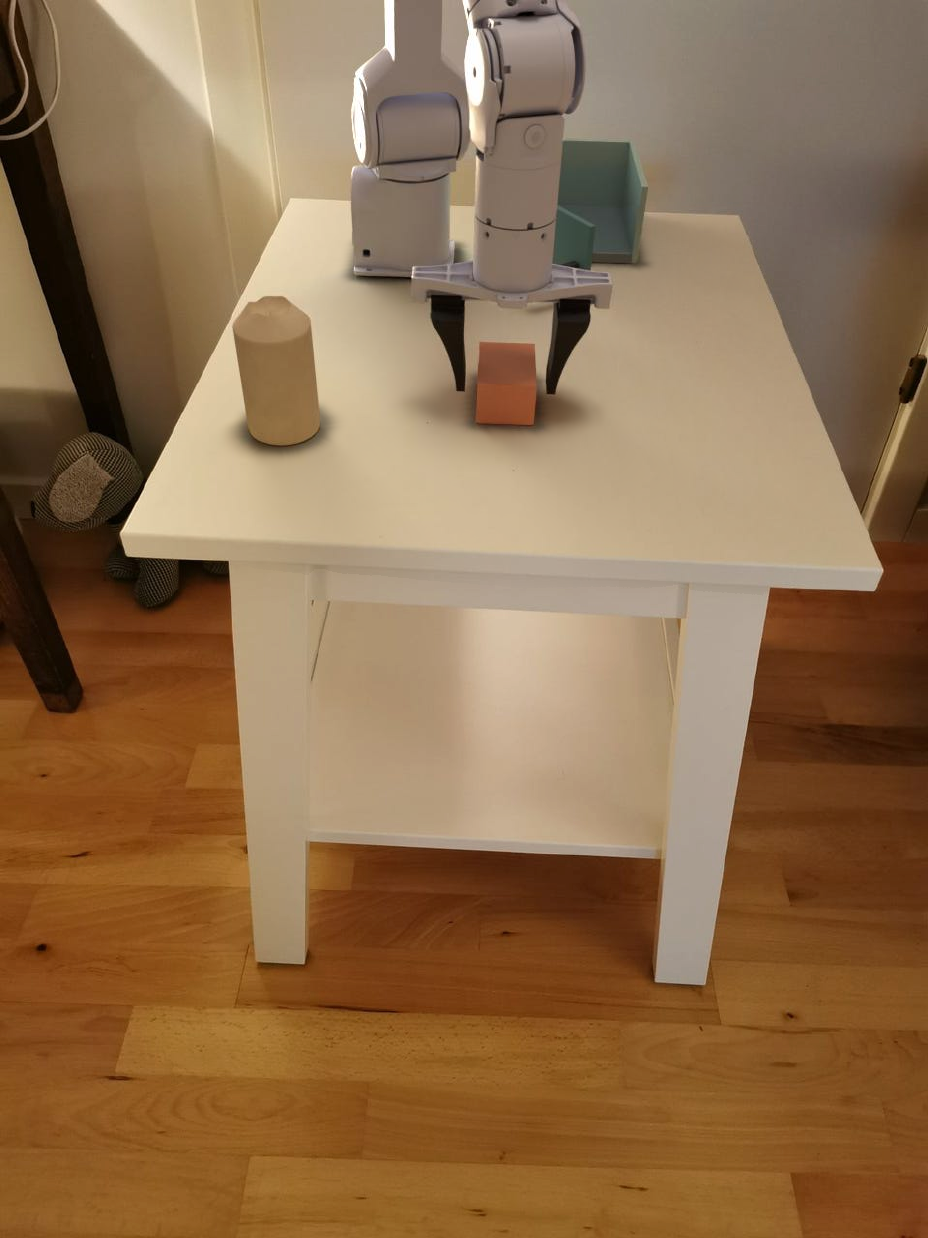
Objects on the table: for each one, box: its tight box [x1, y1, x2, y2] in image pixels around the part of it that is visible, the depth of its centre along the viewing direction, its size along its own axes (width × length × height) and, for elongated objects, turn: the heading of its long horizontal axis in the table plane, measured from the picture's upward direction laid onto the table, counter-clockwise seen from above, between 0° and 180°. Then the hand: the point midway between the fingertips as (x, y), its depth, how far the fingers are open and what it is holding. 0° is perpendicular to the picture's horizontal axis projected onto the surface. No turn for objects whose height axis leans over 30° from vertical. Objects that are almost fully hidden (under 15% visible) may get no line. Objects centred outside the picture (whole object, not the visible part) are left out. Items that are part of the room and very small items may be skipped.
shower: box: [557, 137, 649, 265], centre depth 99 cm, size 13×13×8 cm
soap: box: [475, 341, 538, 426], centre depth 77 cm, size 4×6×4 cm
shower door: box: [552, 205, 596, 271], centre depth 89 cm, size 10×6×6 cm, turn 34°
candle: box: [231, 295, 321, 446], centre depth 71 cm, size 6×6×10 cm
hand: (505, 386), depth 77 cm, fingers open, 6 cm apart
